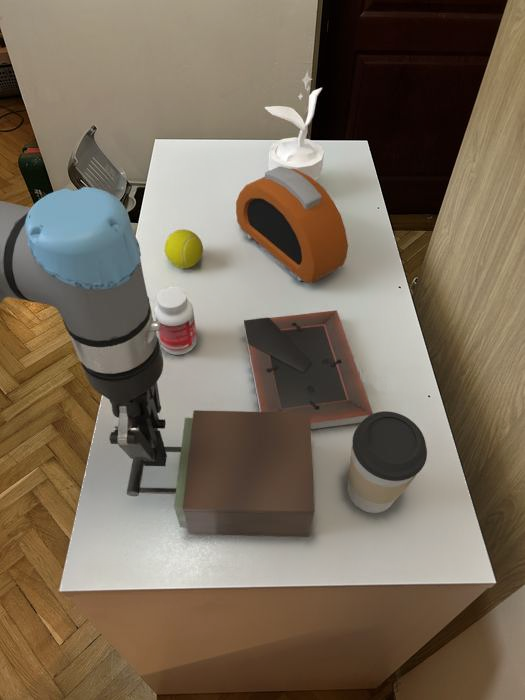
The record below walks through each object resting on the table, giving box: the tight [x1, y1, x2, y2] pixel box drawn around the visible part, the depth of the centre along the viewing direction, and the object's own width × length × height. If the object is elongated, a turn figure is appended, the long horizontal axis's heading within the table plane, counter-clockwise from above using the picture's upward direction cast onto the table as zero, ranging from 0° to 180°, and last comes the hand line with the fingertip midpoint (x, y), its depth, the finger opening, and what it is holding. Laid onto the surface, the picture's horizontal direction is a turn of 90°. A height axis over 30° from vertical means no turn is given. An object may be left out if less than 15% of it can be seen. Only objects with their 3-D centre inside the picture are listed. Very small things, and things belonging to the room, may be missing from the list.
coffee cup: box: [347, 410, 428, 514], centre depth 69 cm, size 9×9×15 cm
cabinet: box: [183, 409, 316, 538], centre depth 71 cm, size 16×14×9 cm
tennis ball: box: [164, 229, 204, 269], centre depth 100 cm, size 7×7×7 cm
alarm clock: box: [235, 166, 349, 284], centre depth 99 cm, size 23×9×17 cm, turn 38°
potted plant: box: [264, 69, 325, 181], centre depth 108 cm, size 13×12×25 cm
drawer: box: [126, 417, 193, 528], centre depth 71 cm, size 21×13×7 cm, turn 89°
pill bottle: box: [154, 286, 198, 356], centre depth 86 cm, size 6×6×11 cm
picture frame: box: [243, 309, 374, 430], centre depth 86 cm, size 16×2×22 cm
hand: (155, 460), depth 69 cm, fingers closed
